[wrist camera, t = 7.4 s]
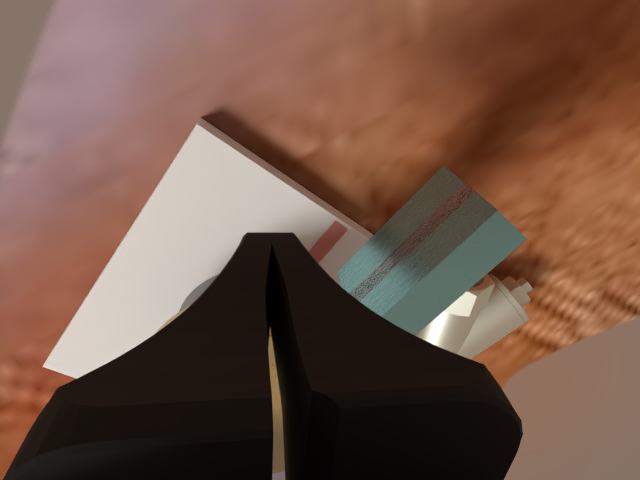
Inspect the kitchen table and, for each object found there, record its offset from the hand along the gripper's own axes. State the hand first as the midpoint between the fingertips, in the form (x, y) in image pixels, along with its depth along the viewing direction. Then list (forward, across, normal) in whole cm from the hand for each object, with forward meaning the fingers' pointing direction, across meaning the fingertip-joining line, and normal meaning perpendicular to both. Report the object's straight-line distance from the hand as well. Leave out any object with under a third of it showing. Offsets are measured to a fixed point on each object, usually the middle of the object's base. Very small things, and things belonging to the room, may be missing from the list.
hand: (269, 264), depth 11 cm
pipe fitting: (+10, -12, +10) cm, 18 cm away
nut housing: (+9, +1, +9) cm, 13 cm away
